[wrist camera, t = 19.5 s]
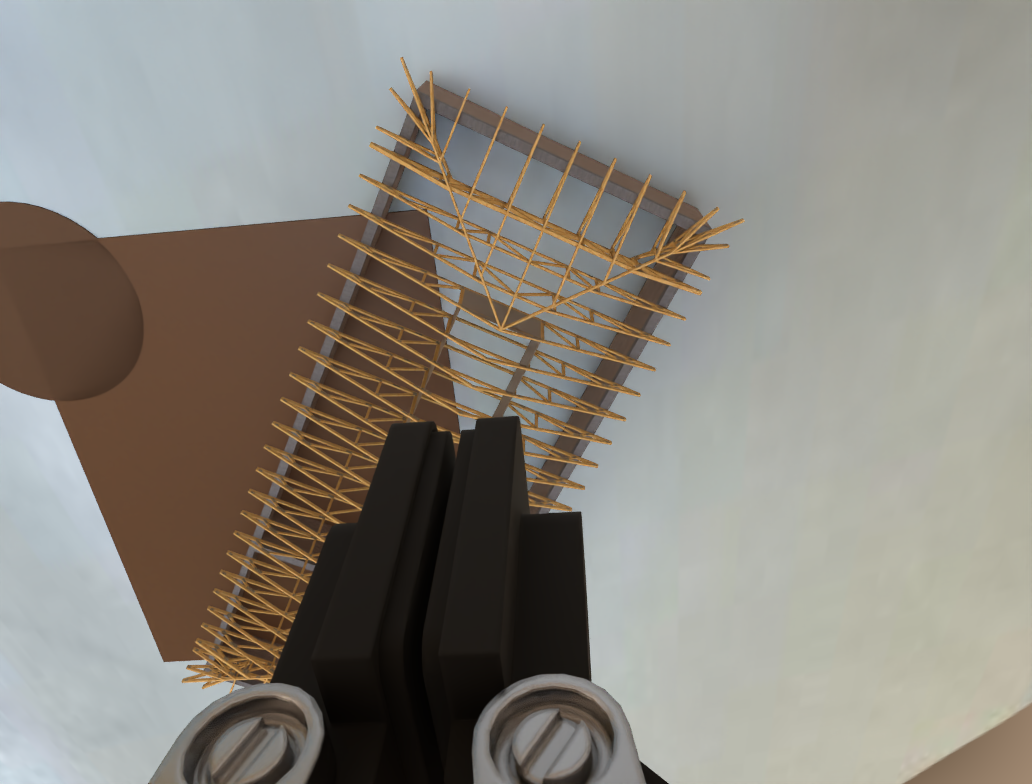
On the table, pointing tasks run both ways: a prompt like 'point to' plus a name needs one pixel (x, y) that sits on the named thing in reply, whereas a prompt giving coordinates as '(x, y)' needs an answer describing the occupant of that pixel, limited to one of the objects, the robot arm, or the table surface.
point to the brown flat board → (206, 383)
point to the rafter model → (304, 537)
